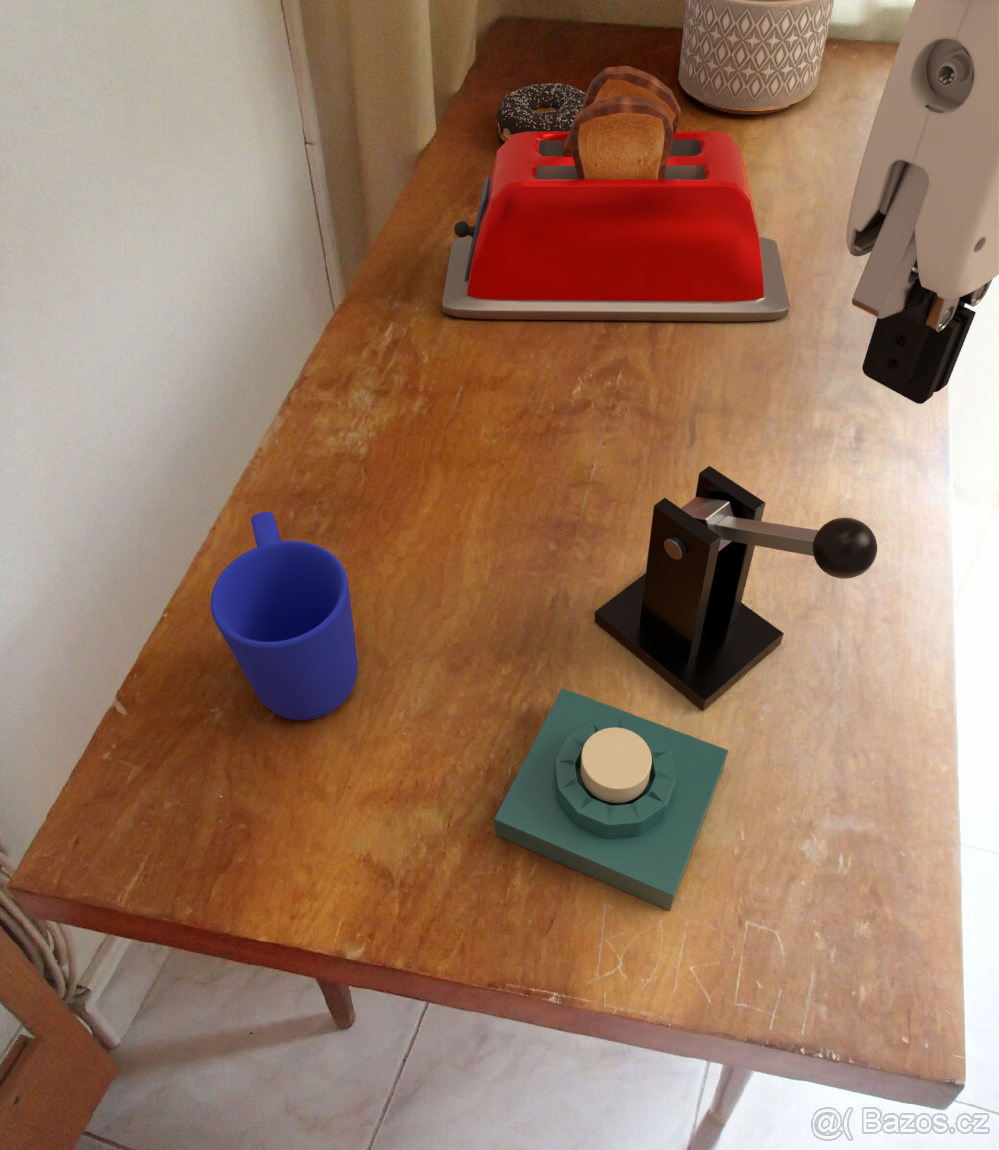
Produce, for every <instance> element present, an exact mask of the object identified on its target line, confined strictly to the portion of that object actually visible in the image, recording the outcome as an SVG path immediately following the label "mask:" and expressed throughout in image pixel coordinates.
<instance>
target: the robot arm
mask: <svg viewBox="0 0 999 1150" xmlns="http://www.w3.org/2000/svg"><path fill="white" fill-rule="evenodd" d="M876 110H877V111H876V114H875V117H874V120H873V123H872V126H871V130H870V133H869V135H868V138H867V139H868V140H867V142H866V146H865V150H864V153H863V156H862V159H861V164H860V167H859V171H858V175H857V179H856V183H855V187H854V190H853V194H852V198H851V199H852V200H851V203H850V209H849V214H848V220H847V226H846V234H845V235H846V239H845V240H846V246H847V250H848V252H849V254H850V255H851V256H854V257H862V256H866V255H867V254H869V256H868V259H867V262H866V263H865V266H864V269H863V271H862V274H861V276H860V279H859V281H858V283H857V285H856V288H855V290H854V293H853V296H852V298H851V305H852V306H854V307H856V308H858V309H859V310H862V311H864V312H865V313H868V314H870V316H874V317H876V320H875V323H874V327H873V330H872V334H871V337H870V340H869V343H868V347H867V349H866V353H865V355H864V360H863V362H862V366H861V369H862V372H863V375H865V376H866V377H867V378H869V379H871V380H873V381H875V382H877V383H878V384H879V385H882V386H884V387H885V388H888V389H889V390H891V391H893V392H895V393H897V394H898V395H900V396H902V397H904V398H906V399H907V400H910V401H911V402H913V403H915V404H917V405H922V404H925V402H927V401H928V400H929V399H931V398H932V397H933V395H934V393H938V392H940V391H941V390H942V389H943V388H945V387H946V386H947V385H948V384H949V382H950V380H951V376H952V374H953V371H954V369H955V366H956V363H957V362H958V359H959V356H960V353H961V352H962V349H963V346H964V344H965V341H966V339H967V336H968V334H969V330H970V329H971V326H972V324H973V321H974V318H975V317H976V314H977V312H976V311H975V310H972V309H970V308H969V307H966V306H965V305H968V306H970V307H971V308H974V307H976V306H978V304H979V303H980V302H982V300H983V299H984V297H985V296H986V294H987V292H988V290H989V289H990V286H991V284H992V282H993V280H994V279H995V278H997V277H998V276H999V0H915V1H914V3H913V6H912V8H911V12H910V14H909V16H908V20H907V23H906V25H905V28H904V30H903V33H902V36H901V39H900V41H899V45H898V47H897V50H896V53H895V56H894V59H893V62H892V64H891V67H890V70H889V73H888V76H887V79H886V82H885V85H884V88H883V92H882V95H881V98H880V100H879V103H878V107H877V109H876Z"/></svg>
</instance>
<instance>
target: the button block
mask: <svg viewBox="0 0 999 1150" xmlns="http://www.w3.org/2000/svg"><path fill="white" fill-rule="evenodd" d="M614 727H616V728H624V729H627V730H630V731H632V732H634V733H636V734H637V735H639V736H640V737H641V738H642V739H643V740H644V741H645V743H646V744H647V746H648V747H649V749H650V752H651V757H652V764H651V770H650V776H649V781H648V784H647V786H646V788H645V790H644V791H643V792H642V793H641V794H640V795H639V796H638V797H636V798H634V799H632V800H630V801H627V802H623V803H611V802H606V801H603V800H601V799H599V798H597V797H595V796H594V795H593V794H592V793H590V792H589V790H588V789H587V788H586V787H585V785H584V783H583V781H582V778H581V754H582V749H583V746H584V744H585V743H586V741H587V740H588V738H590V737H591V736H592V735H593V734H594V733H596V732H598V731H600V730H602V729H606V728H614ZM728 755H729V750H728V749H726V748H723V747H721V746H719V745H715V744H713V743H710V742H707V741H704V740H702V739H700V738H696V737H694V736H691V735H688V734H686V733H683V732H681V731H678V730H675V729H673V728H670V727H668V726H665V725H662V724H659V723H657V722H654V721H651V720H649V719H646V718H644V717H641V716H638V715H636V714H633V713H630V712H628V711H625V710H622V709H619V708H617V707H614V706H611V705H609V704H606V703H603V702H601V701H598V700H596V699H593V698H590V697H587V696H585V695H582V694H580V693H577V692H574V691H571V690H569V689H566V688H563V687H562V688H560V691H559V693H558V694H557V696H556V697H555V700H554V702H553V704H552V706H551V708H550V709H549V712H548V714H547V716H546V718H545V719H544V721H543V723H542V725H541V726H540V729H539V731H538V733H537V735H536V736H535V739H534V740H533V742H532V745H531V746H530V748H529V750H528V752H527V754H526V756H525V758H524V760H523V762H522V764H521V766H520V768H519V769H518V771H517V774H516V775H515V778H514V779H513V781H512V783H511V785H510V787H509V789H508V790H507V793H506V794H505V797H504V799H503V801H502V803H501V804H500V806H499V809H498V810H497V812H496V814H495V816H494V818H493V821H494V822H493V823H494V833H495V836H496V837H499V838H501V839H503V840H506V841H508V842H509V843H510V842H511V843H513V844H515V845H518V846H520V847H522V848H524V849H527V850H529V851H531V852H533V853H536V854H538V855H540V856H543V857H545V858H547V859H548V860H552V861H554V862H557V863H559V864H561V865H563V866H566V867H568V868H570V869H573V870H575V871H577V872H580V873H582V874H584V875H586V876H588V877H591V878H593V879H595V880H597V881H599V882H603V883H605V884H607V885H610V886H611V887H614V888H616V889H618V890H621V891H623V892H625V893H627V894H630V895H632V896H634V897H637V898H639V899H642V900H644V901H646V902H649V903H651V904H653V905H655V906H657V907H660V908H662V909H664V910H667V911H671V910H672V908H673V905H674V902H675V900H676V896H677V894H678V891H679V889H680V886H681V884H682V882H683V881H682V880H683V878H684V875H685V872H686V870H687V868H688V865H689V862H690V859H691V857H692V854H693V852H694V849H695V846H696V843H697V841H698V838H699V836H700V833H701V830H702V827H703V825H704V822H705V819H706V817H707V814H708V811H709V809H710V805H711V803H712V801H713V798H714V796H715V793H716V790H717V787H718V784H719V781H720V779H721V776H722V773H723V772H724V768H725V766H726V765H725V764H726V762H727V758H728Z"/></svg>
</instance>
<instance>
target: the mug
mask: <svg viewBox="0 0 999 1150" xmlns="http://www.w3.org/2000/svg"><path fill="white" fill-rule="evenodd" d="M250 524H251V527H252V528H251V529H252V530H253V531H252V532H253V535H254V540H255V543H256V547H254V548H252V549H250V550H248V551H246V552H244V553H242V554H240V555H239V556H238V557H237V558H235V559H234V560H233V561H231V562H230V563H229V564H228V565H227V566H226V568H224V569H223V571H221V573H220V575H219V576H218V577H217V579H216V582H214V585H213V587H212V591H211V595H210V612H211V616H212V619H213V621H214V623H215V625H216V627H217V628H218V630H219V632H220V634H221V635H222V637H223V639H224V641H225V643H226V645H227V646H228V648H229V649H230V651H231V653H232V655H233V656H234V658H235V660H236V662H237V664H238V665H239V667H240V669H241V670H242V672H243V674H244V676H245V677H246V679H247V681H248V682H249V684H250V686H251V688H252V690H253V691H254V694H255V695H256V697H257V698H258V699H259V701H260V702H261V703H262V704H263V705H264V706H265V707H266V709H268V710H269V711H270V712H272V713H274V714H275V715H278V716H280V717H281V718H285V719H289V720H295V721H308V720H314V719H318V718H321V717H323V716H327V715H328V714H329V713H332V712H333V711H335V710H336V709H338V708H340V706H341V705H342V704H343V703H344V702H345V701H346V700H347V699H348V698H349V696H350V694H351V693H352V691H353V689H354V687H355V684H356V682H357V677H358V670H359V664H358V663H359V662H358V661H359V660H358V652H357V646H356V645H357V644H356V636H355V627H354V620H353V611H352V603H351V602H352V601H351V595H350V585H349V579H348V575H347V572H346V570H345V567H344V566H343V564H342V562H340V560H339V558H337V556H336V555H334V554H333V552H331V551H329V550H328V549H326V548H324V547H322V546H319V545H318V544H316V543H315V544H314V543H311V542H307V541H300V540H281V539H282V538H281V536H280V531H279V528H278V525H277V521H276V518H275V515H274V513H273V512H272V511H262V512H258V513H255V514H254V515H252V516H251V518H250Z"/></svg>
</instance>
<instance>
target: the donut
mask: <svg viewBox="0 0 999 1150" xmlns="http://www.w3.org/2000/svg"><path fill="white" fill-rule="evenodd" d="M585 94H586V92H583V91H582V90H580V89H578V88H575V87H574V86H570V85H568V84H563V83H559V82H557V83H554V82H553V83H542V84H532V85H527V86H524V87H522V88H519V89H517V90H515V91H512V92H509V93H508V94H506V95H505V97H504V98H502V100H501V102H500V104H499V105H498V108H497V112H496V118H495V119H496V122H497V121H498V126H499V130H500V133H501V134H503V135H504V136H505V137H506V138H510V137H511V136H512V135H513V134H516V133H522V132H554V131H570V130H571V127H572V124H573V121H574V118H575V115H576V114H577V113H579V112H580V111H581V109H582V105H583V101H584V97H585ZM499 137H500V139H501V141H502V142H504V143H505V142H506V141H505V140H504V139H503V138H502V137H501V136H500V135H499Z"/></svg>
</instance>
